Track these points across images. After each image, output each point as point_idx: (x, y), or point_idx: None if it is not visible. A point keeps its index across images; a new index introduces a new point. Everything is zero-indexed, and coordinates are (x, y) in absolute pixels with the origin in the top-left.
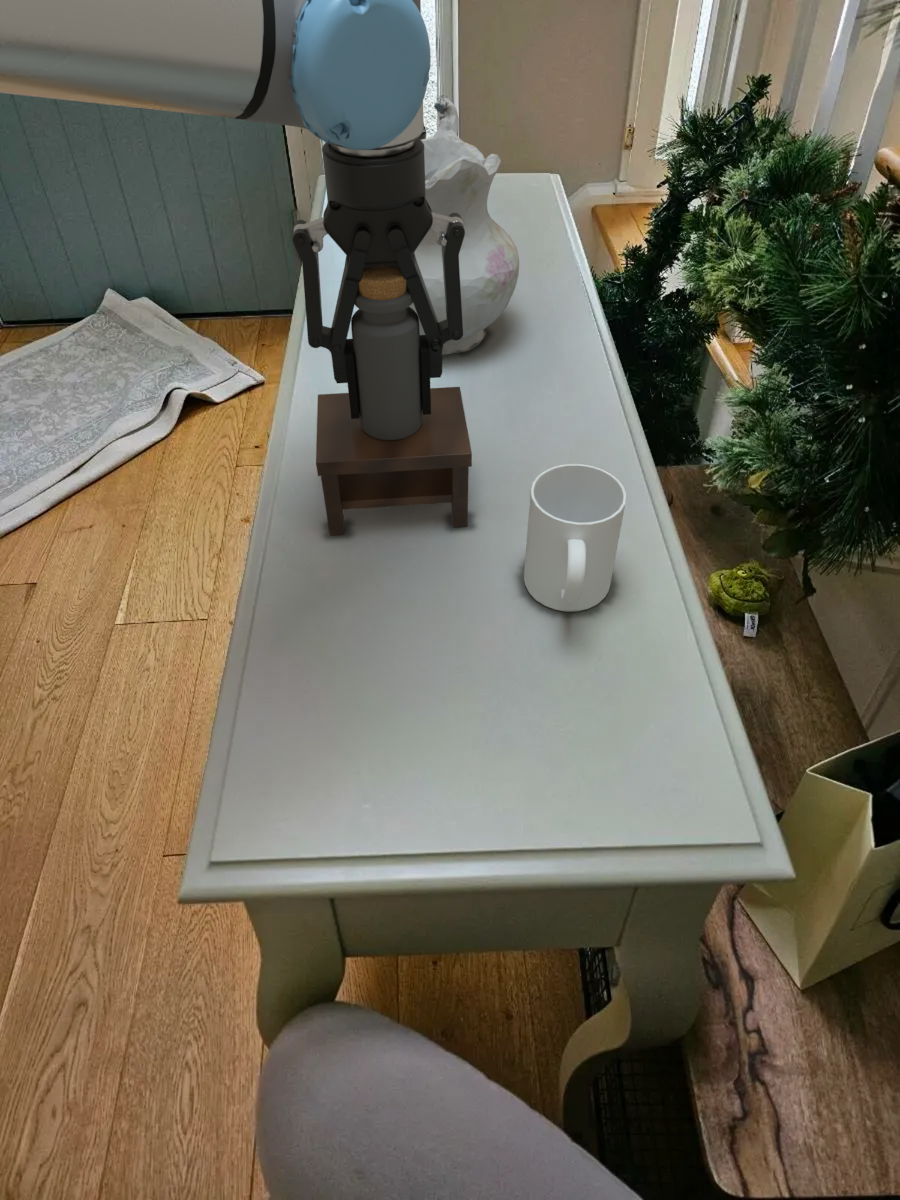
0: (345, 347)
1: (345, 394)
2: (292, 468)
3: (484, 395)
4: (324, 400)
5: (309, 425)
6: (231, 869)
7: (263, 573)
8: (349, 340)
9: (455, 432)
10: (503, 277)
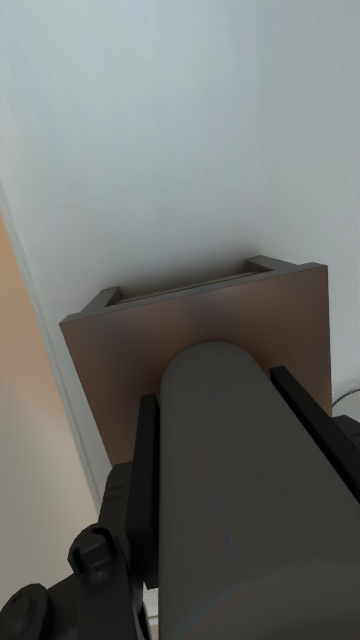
0: (139, 562)
1: (112, 318)
2: (52, 293)
3: (305, 61)
4: (78, 341)
5: (37, 188)
6: (150, 619)
7: (86, 448)
8: (142, 533)
9: (312, 396)
10: None
